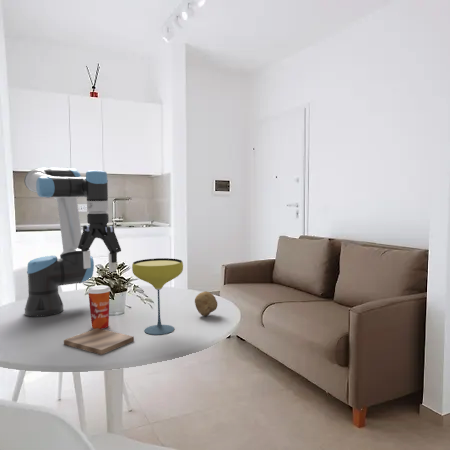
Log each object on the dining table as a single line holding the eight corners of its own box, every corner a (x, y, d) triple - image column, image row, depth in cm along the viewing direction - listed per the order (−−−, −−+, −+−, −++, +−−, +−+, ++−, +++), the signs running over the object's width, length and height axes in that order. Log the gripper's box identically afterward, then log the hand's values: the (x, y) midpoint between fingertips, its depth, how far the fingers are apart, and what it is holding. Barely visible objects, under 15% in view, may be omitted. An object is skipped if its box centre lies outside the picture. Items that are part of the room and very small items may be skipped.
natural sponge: (212, 311, 172) (212, 288, 172) (221, 317, 164) (220, 292, 163) (192, 314, 169) (191, 290, 168) (199, 320, 160) (199, 295, 160)
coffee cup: (90, 331, 149) (89, 290, 148) (87, 325, 156) (85, 286, 155) (114, 327, 153) (112, 288, 152) (109, 322, 160) (108, 284, 159)
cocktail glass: (177, 320, 161) (176, 257, 159) (190, 334, 144) (188, 263, 143) (130, 325, 155) (128, 260, 153) (138, 341, 138) (136, 267, 136)
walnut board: (63, 344, 136) (63, 339, 136) (97, 332, 148) (97, 328, 148) (101, 354, 127) (101, 349, 126) (133, 340, 138) (133, 336, 138)
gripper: (66, 212, 155) (69, 268, 156) (114, 213, 142) (116, 274, 143) (83, 211, 161) (85, 265, 163) (129, 212, 148) (131, 270, 150)
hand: (99, 269), depth 153 cm, fingers open, 13 cm apart
